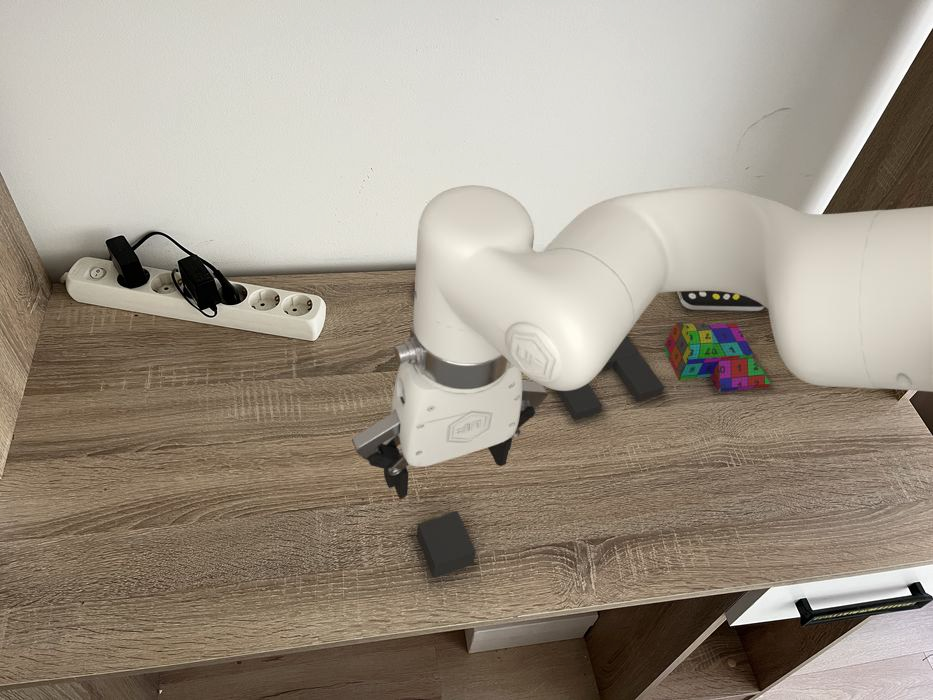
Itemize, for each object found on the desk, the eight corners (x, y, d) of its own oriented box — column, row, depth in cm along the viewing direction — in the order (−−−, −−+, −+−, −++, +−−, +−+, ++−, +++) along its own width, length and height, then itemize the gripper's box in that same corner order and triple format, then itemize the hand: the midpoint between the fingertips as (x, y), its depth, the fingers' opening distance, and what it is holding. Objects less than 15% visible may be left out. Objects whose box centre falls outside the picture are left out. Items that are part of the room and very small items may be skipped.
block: (685, 394, 98) (703, 360, 93) (663, 348, 103) (678, 313, 98) (768, 386, 100) (790, 353, 95) (743, 341, 105) (762, 307, 100)
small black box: (473, 564, 79) (475, 551, 77) (433, 578, 78) (435, 565, 76) (455, 524, 82) (457, 510, 80) (416, 537, 81) (417, 523, 78)
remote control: (766, 313, 110) (771, 303, 108) (682, 311, 108) (686, 301, 107) (752, 283, 114) (757, 274, 112) (671, 281, 112) (675, 271, 111)
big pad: (661, 394, 97) (664, 387, 96) (573, 420, 93) (576, 413, 92) (580, 282, 110) (582, 274, 109) (500, 301, 106) (502, 293, 105)
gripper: (367, 412, 51) (370, 534, 64) (587, 350, 57) (549, 473, 69) (335, 335, 55) (343, 463, 68) (541, 285, 61) (514, 412, 74)
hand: (447, 468), depth 69 cm, fingers open, 9 cm apart
